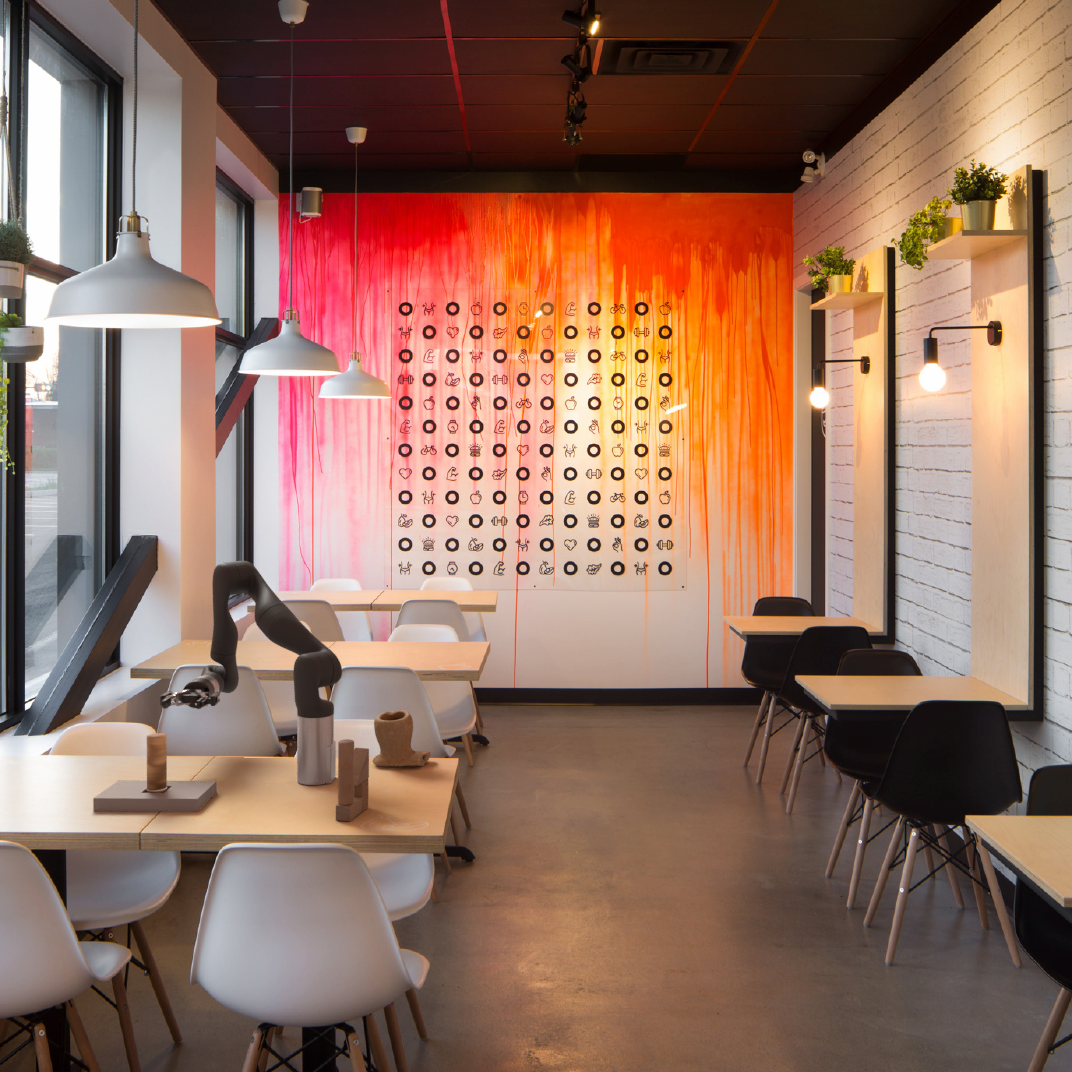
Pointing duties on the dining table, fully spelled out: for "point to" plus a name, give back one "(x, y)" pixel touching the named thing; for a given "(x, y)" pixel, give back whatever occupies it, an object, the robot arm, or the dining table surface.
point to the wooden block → (352, 780)
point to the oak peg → (157, 763)
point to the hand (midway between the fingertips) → (181, 704)
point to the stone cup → (397, 740)
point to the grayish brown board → (155, 796)
